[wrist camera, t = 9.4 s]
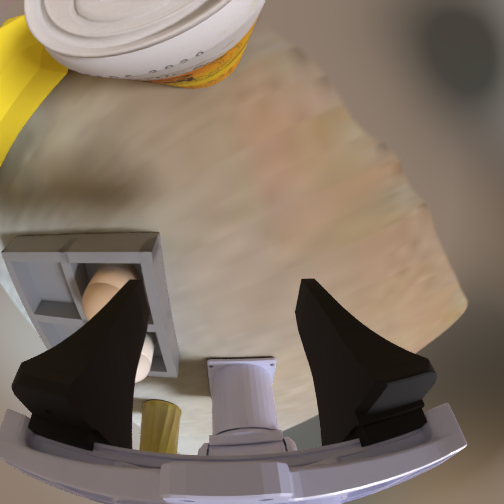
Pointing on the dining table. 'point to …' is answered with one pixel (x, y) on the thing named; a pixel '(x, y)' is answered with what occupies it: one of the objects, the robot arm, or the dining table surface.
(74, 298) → the gray compartment tray
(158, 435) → the vase
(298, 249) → the dining table surface
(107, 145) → the dining table surface
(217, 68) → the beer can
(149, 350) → the cream egg
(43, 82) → the yellow banana
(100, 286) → the brown egg
